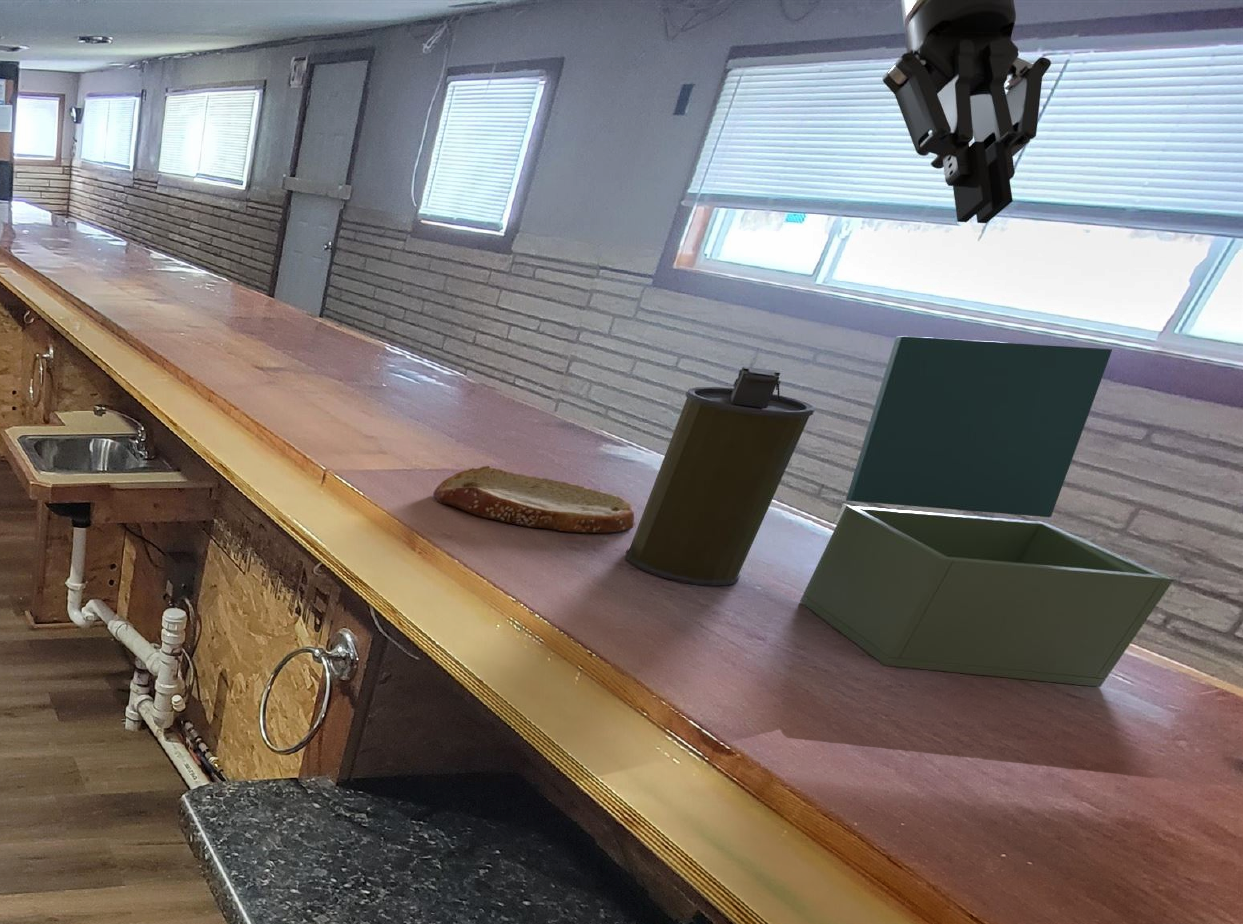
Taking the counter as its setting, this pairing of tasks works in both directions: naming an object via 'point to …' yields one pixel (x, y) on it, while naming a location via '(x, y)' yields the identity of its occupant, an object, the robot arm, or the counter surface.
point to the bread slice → (535, 501)
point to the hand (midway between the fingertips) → (984, 211)
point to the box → (981, 595)
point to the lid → (976, 425)
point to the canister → (718, 479)
